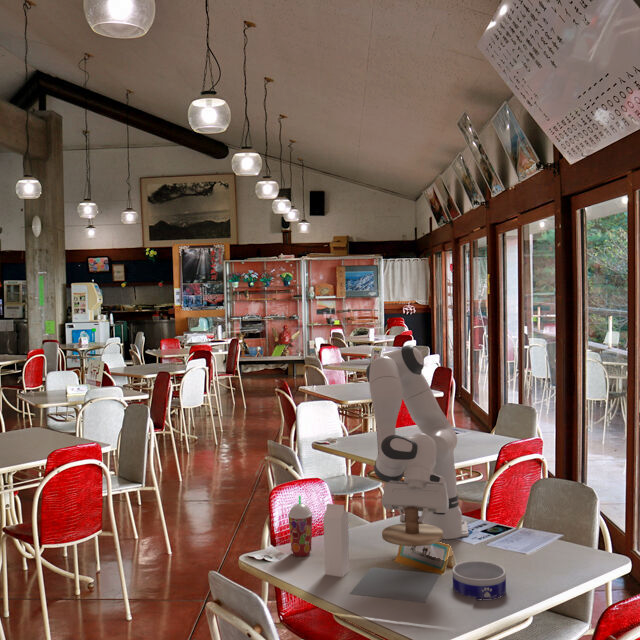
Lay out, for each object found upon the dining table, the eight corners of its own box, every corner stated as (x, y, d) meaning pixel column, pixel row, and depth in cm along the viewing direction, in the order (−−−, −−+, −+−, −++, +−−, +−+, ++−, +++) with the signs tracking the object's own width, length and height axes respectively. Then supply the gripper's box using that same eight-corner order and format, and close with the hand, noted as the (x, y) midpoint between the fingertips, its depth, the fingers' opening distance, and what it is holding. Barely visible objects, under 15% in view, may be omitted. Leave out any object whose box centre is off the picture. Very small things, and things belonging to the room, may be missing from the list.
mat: (371, 569, 225) (371, 567, 225) (439, 576, 217) (439, 574, 217) (349, 595, 204) (349, 593, 204) (424, 604, 196) (424, 602, 196)
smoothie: (309, 548, 246) (307, 491, 246) (316, 556, 238) (315, 497, 238) (286, 551, 243) (284, 494, 243) (293, 559, 236) (291, 500, 235)
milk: (332, 569, 225) (330, 501, 225) (350, 572, 223) (347, 502, 223) (324, 576, 220) (322, 506, 220) (342, 578, 217) (340, 507, 217)
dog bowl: (470, 604, 196) (469, 583, 196) (443, 584, 211) (442, 564, 210) (516, 595, 201) (516, 574, 201) (487, 577, 215) (487, 557, 215)
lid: (391, 525, 221) (390, 499, 221) (448, 529, 214) (447, 502, 214) (374, 543, 204) (373, 515, 204) (436, 548, 198) (435, 519, 198)
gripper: (383, 474, 219) (375, 514, 210) (448, 478, 212) (443, 519, 203) (387, 485, 224) (380, 525, 215) (452, 489, 216) (447, 530, 207)
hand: (411, 522), depth 209 cm, fingers closed on lid, 4 cm apart
